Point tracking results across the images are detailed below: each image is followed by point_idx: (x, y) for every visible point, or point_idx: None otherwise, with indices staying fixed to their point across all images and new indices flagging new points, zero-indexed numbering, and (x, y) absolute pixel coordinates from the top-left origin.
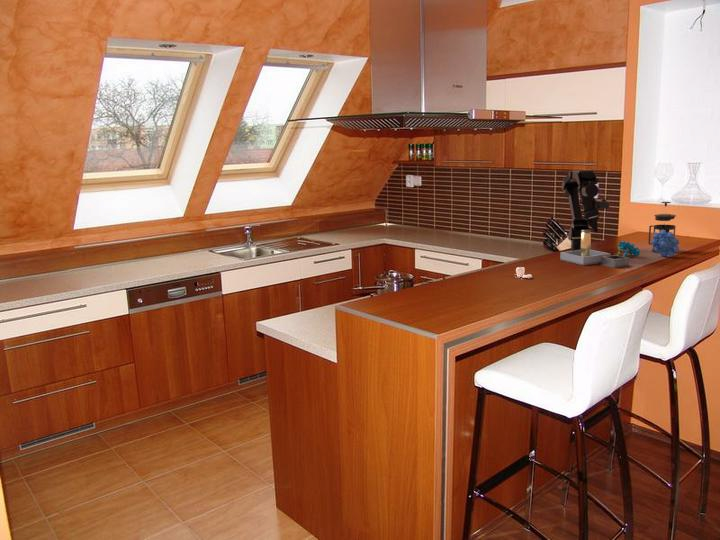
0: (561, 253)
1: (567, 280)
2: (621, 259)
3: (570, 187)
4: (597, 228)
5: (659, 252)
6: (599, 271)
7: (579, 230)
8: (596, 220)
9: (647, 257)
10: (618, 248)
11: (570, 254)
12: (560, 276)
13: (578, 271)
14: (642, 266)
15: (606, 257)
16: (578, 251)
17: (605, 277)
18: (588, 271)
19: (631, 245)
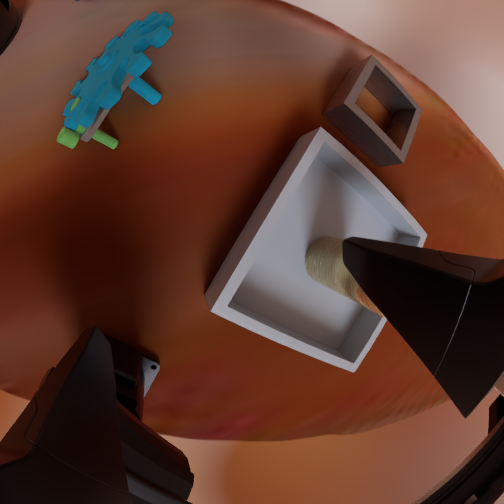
0: (355, 364)
1: (497, 214)
2: (398, 85)
3: None
4: (389, 242)
5: (15, 32)
6: (445, 159)
7: (162, 460)
8: (501, 267)
9: (123, 21)
10: (77, 138)
11: None
12: (486, 239)
13: (457, 217)
14: (335, 29)
15: (405, 140)
16: (280, 330)
17: (472, 141)
18: (452, 190)
19: (168, 26)
